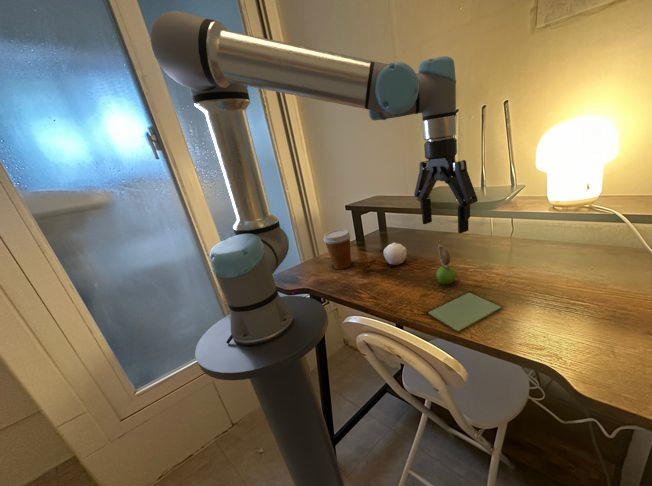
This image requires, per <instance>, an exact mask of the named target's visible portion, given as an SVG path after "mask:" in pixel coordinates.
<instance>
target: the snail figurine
mask: <svg viewBox="0 0 652 486" xmlns="http://www.w3.org/2000/svg"><path fill="white" fill-rule="evenodd" d="M437 243H438V245H437V249H438V257H439V261H440V264H441V266H440V267H439V268H438V269H437V270H436V273H435V278H436V281H438V282H439V283H440V284H442V285H450V284H452V283H454V281H455V280H456V277H457V273H456V270H455V269H454V268H453V266H451V265H450V264H451V263H450V262H451V255H450V252H449V250H447V249H445V248H444V246H443V244H441V243H442V239H439V240H437ZM439 243H440V244H439ZM443 248H444V249H443Z"/></svg>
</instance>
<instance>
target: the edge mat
mask: <svg viewBox="0 0 652 486" xmlns="http://www.w3.org/2000/svg"><path fill="white" fill-rule="evenodd" d="M501 309H502V306H500V305H499V304H496V303H493V302H491V301H489V300H487V299H484V298H482V297H480V296H478V295H476V294H474V293H471V292H467V293H464V294H463V295H461V296H459V297H457V298H454V299H453V300H451V301H448V302H446V303H444V304H442V305H440V306H438V307H436V308H433V309H432V310H429V311H428V312H427V314H428V315H430V316H431V317H432V318H434V319H436V320H438V321H439V322H441V323H443V324H444V325H446V326H447V327H449V328H450V329H452V330H454V331H456V332H457V333H459V332H461V331H463V330H464V329H467V328H468V327H469V326H472V325H473V324H475V323H477V322H479V321H481V320H483V319H485V318H486V317H488V316H490V315H491V314H493V313H496V312H497V311H499V310H501Z"/></svg>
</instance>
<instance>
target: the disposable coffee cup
mask: <svg viewBox="0 0 652 486" xmlns="http://www.w3.org/2000/svg"><path fill="white" fill-rule="evenodd" d="M351 236H352V235H351V233H350V232H349V230H347V229H336V230H332V231H328V232H326V233H325V234H324V235H323V242H324V243H325V245H326V248H327V251H328V254H329V257H330V260H331V263H332V265H333V268H334V269H336V270H343V269H346V268H349V267H351V265H352V255H351V254H352V253H351Z"/></svg>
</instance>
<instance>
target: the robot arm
mask: <svg viewBox="0 0 652 486" xmlns="http://www.w3.org/2000/svg"><path fill="white" fill-rule="evenodd" d="M150 44H151V49H152V52H153V55H154V58H155V60H156V61H157V63H158V65H159V66H160V67H161V69H162V70H163V72H164V73H165V74H166V75H167V76H168V77H169V78H171V79H172V80H173V81H174V82H176V83H177V84H179V85H181V86H183V87H185V88H187V89H189V91H190V95H191V98H192V101H193V104H194V107H196V108H197V109H198V110H200V111H201V112H202V113H203V114H204V115H205V118H206V122H207V125H208V129H209V131H210V132H209V133H210V135H211V138H212V141H213V145H214V149H215V152H216V155H217V158H218V162H219V165H220V169H221V171H222V175H223V178H224V181H225V185H226V188H227V191H228V195H229V198H230V201H231V205H232V208H233V211H234V214H235V218H236V220H235V222H234V224H233V225H232V230H233V233H234V235H233V236H230V237H227V238H226V239H223V240H221V241H219V242H218V243H216V244H215V245H214V246H213V247H212V248H211V249H210V251H209V257H208V258H209V261H210V265H211V270H212V272H213V273H214V275H215V277H216V279H217V283H218V284H219V287H220V289H221V292H222V294H223V296H224V299H225V302H226V304H227V306H228V308H229V314H230V327H231V336H230V337H229V339H228V340H227V342H226V343H228V344H229V343H230V341H231V340H232V338H233V340H234V342H235V343H236V344H238V345H241V346H257V345H262V344H265V343H268V342H271V341H273V340H275V339H277V338H279V337H280V336H282V335H283V334H285V333H286V332H287V331H288V330H289V329H290V328H291V326H292V325H293V322H294V318H293V315H292V312H291V310H290V309H289V307H288V306H287V305H286V304H285V302H284V301H283V300H282V298H281V297H282V296H280V294H279V292H278V288H277V285H276V282H275V279H274V275H273V274H274V273H275V272H276V270H277V269H278V268H279V266H280V265H281V264H282V263H283V262H284V260H285V259H286V257H287V255H288V252H289V249H290V240H289V236H288V234H287V233H286V231H285V229H284V228H282V227H281V224H280V221H279V218H278V217H277V216H275V214H272V212H271V208H270V204H269V200H268V196H267V192H266V187H265V184H264V180H263V176H262V172H261V167H260V163H259V160H258V155H257V151H256V148H255V143H254V139H253V136H252V132H251V127H250V124H249V119H248V115H247V109H248V108H249V105H250V104H251V99H250V94H249V89H248V87H249V88H254V89H259V90H265V91H270V92H276V93H281V94H286V95H291V96H297V97H301V98H307V99H312V100H316V101H322V102H326V103H332V104H338V105H342V106H343V105H344V106H348V107H353V108H359V109H365V110H368V114H369V115H368V116H369V118H370V120H371V121H386V120H389V119H395V118H400V117H401V118H402V117H406V116H411V115H418V114H421V115H422V135H423V136H422V138H423V140H424V141H425V143H424V145H423V148H424V158H425V159H426V160H423V161H420V162H419V170H418V171H419V172H418V175H417V181H416V184H415V189H414V193H413V194H414V197H415V198H418V200H419V203H420V204H419V205H420V211H421V217H422V218H421V219H422V225H428V224H430V223H432V222H433V217H432V216H433V215H432V202H431V196H430V194H431V193H432V191H433V189H434V187H435V185H436V183H437V182H439V181H440V182H444V183H445V184H447V185H448V187H449V188H450V190H451V192H452V193H453V195H454V197H455V199H456V200H457V202H458V204H459V205H458V206H457V233H458V234H464V233H466V232H468V231H469V220H470V218H471V206H472V204H475V203H477V202H478V201H479V199H478V197H477V193H476V191H475V188H474V185H473V182H472V180H471V177H470V175H469V172H468V165H467V161H466V160H465V159H461V160H459V161H456V159H455V158H456V155H457V154H458V139H457V138H456V137H455V136H456V135H457V131H458V130H457V79H456V67H455V65H456V64H455V60H454V58H452V57H451V56H447V55H445V56H437V57H433V58H429V59H426V60H423V61H421V62H420V63H419V66H418V72H417V73H416V71H415V70H414V68H413V67H411V65H409V64H407V63H405V62H402V61H394V62H390V63H384V62H379V61H373V60H371V59H364V58H361V57H355V56H351V55H346V54H341V53H337V52H331V51H326V50H322V49H318V48H312V47H308V46H307V47H306V46H304V45H299V44H293V43H289V42H284V41H280V40H279V41H278V40H276V39H275V40H274V39H270V38H264V37H260V36H256V35H250V34H246V33H241V32H237V31H232V30H228V29H227V28H226V26H225V25H224V24H223V23H222V22H221V21H219V20H216V19H212V18H211V19H210V18H206V17H202V16H199V15H195V14H192V13H188V12H185V11H182V10H181V11H180V10H170V11H167V12H164V13H163V14H161V15H159V16H158V17H157V18H156V19H155V21H154V22H153V24H152V28H151V31H150Z"/></svg>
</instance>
